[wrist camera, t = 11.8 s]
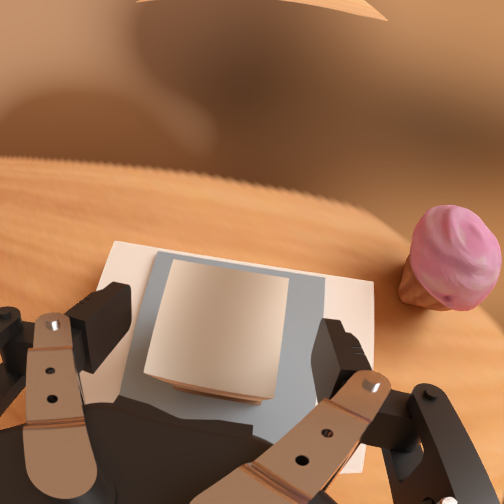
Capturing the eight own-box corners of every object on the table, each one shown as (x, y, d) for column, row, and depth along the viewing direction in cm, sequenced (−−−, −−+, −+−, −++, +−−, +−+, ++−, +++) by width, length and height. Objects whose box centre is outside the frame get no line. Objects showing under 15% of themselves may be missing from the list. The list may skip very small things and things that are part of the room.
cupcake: (390, 236, 28) (438, 169, 20) (454, 269, 27) (511, 217, 18) (370, 312, 24) (433, 256, 16) (443, 345, 23) (518, 307, 14)
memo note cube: (176, 390, 16) (136, 376, 9) (193, 314, 19) (170, 253, 12) (259, 405, 16) (278, 404, 9) (270, 328, 19) (294, 274, 12)
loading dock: (88, 418, 18) (60, 417, 14) (128, 264, 25) (112, 237, 21) (341, 463, 18) (364, 473, 14) (354, 300, 25) (376, 278, 21)
